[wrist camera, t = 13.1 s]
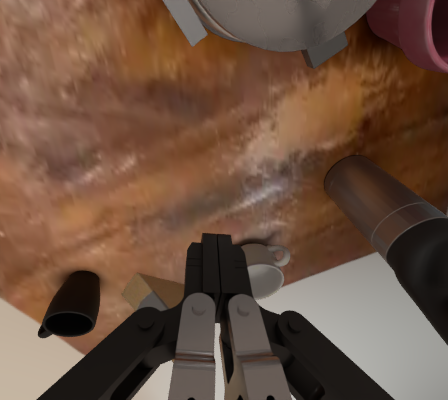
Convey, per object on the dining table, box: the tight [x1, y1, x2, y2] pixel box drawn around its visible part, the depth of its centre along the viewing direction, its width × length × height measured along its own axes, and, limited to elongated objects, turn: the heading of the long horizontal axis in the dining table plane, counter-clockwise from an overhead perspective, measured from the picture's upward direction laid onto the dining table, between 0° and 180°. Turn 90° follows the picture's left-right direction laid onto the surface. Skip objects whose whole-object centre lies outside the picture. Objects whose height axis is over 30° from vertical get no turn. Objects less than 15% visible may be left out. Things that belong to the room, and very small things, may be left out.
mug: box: [38, 271, 100, 338], centre depth 48 cm, size 8×12×10 cm
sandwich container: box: [122, 273, 184, 363], centre depth 52 cm, size 9×15×15 cm, turn 55°
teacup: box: [241, 244, 290, 300], centre depth 52 cm, size 14×11×8 cm
